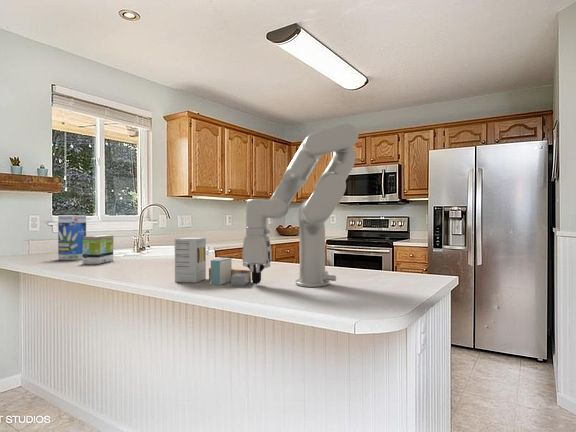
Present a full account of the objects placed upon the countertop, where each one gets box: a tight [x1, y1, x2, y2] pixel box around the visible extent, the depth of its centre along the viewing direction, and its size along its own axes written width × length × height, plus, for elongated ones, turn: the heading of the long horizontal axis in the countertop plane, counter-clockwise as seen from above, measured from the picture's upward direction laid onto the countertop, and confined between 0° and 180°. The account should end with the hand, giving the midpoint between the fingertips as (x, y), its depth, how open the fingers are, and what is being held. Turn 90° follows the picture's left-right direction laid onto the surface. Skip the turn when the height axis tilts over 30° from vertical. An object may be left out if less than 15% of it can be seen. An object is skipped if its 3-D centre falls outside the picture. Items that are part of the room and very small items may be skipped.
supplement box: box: [174, 237, 207, 284], centre depth 151 cm, size 10×9×17 cm
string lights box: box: [57, 214, 87, 261], centre depth 225 cm, size 13×8×26 cm, turn 80°
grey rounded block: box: [230, 273, 250, 288], centre depth 142 cm, size 5×8×4 cm, turn 174°
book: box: [210, 257, 232, 286], centre depth 146 cm, size 4×8×9 cm, turn 156°
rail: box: [208, 267, 252, 284], centre depth 150 cm, size 18×1×4 cm, turn 67°
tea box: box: [81, 234, 114, 265], centre depth 210 cm, size 15×10×15 cm
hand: (256, 282), depth 139 cm, fingers closed
